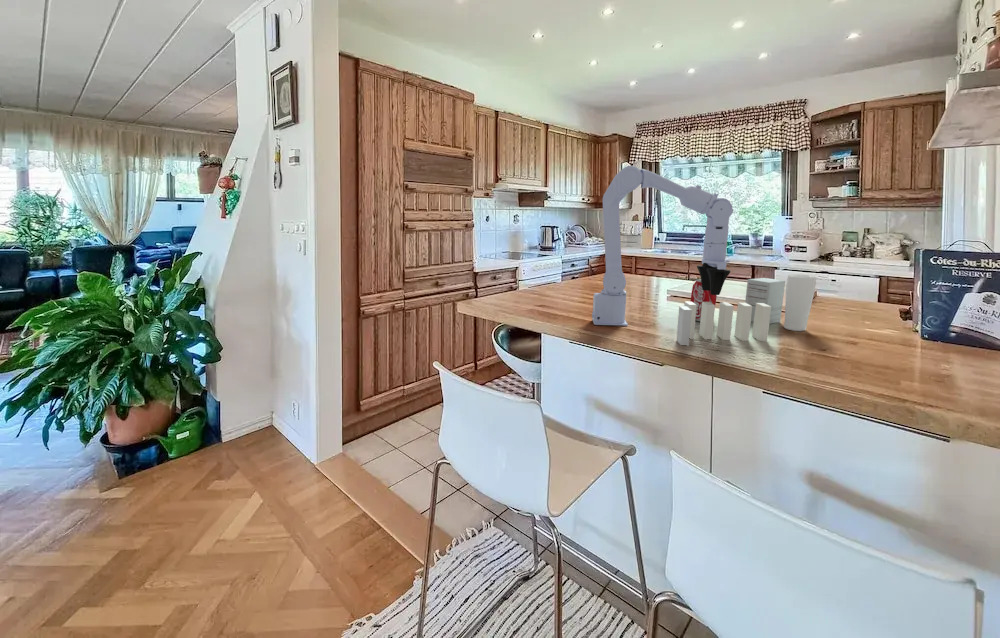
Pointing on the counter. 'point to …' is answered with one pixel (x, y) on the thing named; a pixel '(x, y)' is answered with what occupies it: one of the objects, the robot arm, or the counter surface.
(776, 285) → the supplement box
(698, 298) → the soda can
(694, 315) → the domino
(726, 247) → the robot arm
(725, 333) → the domino
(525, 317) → the counter surface
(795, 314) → the tall white pillar
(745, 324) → the domino
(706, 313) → the domino
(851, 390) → the counter surface
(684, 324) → the domino
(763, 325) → the domino
